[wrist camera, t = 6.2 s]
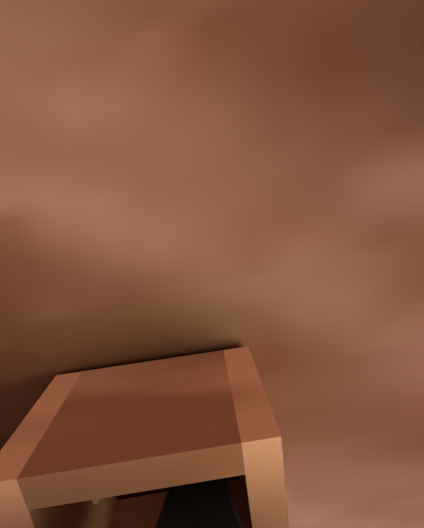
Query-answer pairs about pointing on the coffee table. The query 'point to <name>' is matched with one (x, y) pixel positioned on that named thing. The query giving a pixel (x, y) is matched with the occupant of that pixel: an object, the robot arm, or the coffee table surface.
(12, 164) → the coffee table surface
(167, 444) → the pull frame
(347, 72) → the coffee table surface
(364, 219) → the coffee table surface
